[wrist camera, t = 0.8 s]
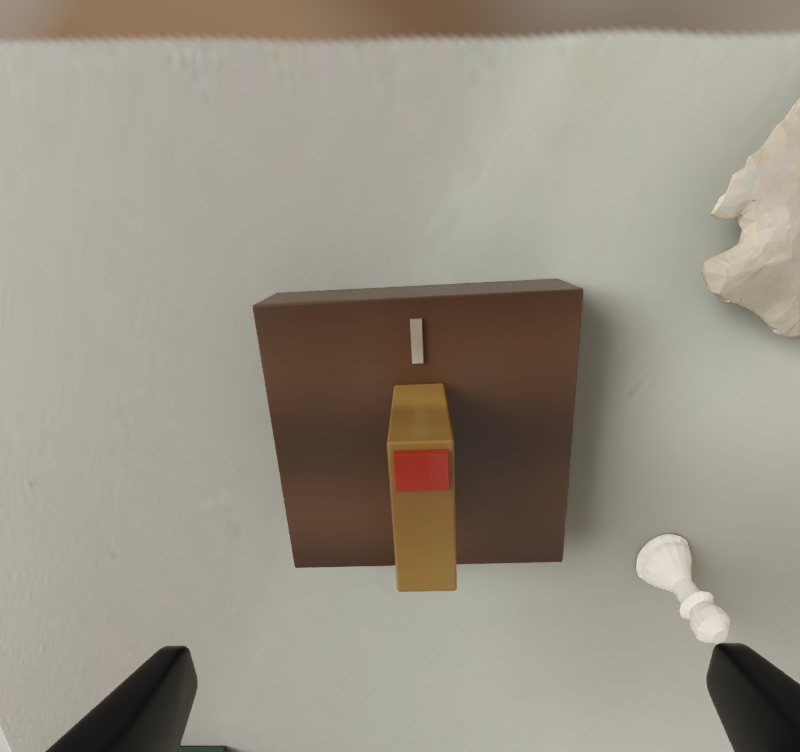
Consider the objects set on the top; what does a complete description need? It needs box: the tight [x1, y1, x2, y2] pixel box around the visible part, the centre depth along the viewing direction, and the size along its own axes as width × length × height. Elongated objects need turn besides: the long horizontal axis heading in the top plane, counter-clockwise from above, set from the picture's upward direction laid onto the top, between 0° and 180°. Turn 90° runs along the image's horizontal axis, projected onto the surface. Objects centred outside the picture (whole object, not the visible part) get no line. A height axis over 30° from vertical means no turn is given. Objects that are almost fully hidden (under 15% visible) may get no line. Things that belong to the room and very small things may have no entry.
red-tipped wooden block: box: [387, 383, 457, 592], centre depth 13 cm, size 4×2×4 cm, turn 3°
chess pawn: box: [636, 534, 731, 644], centre depth 17 cm, size 3×2×4 cm
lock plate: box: [253, 279, 583, 568], centre depth 16 cm, size 10×10×3 cm
